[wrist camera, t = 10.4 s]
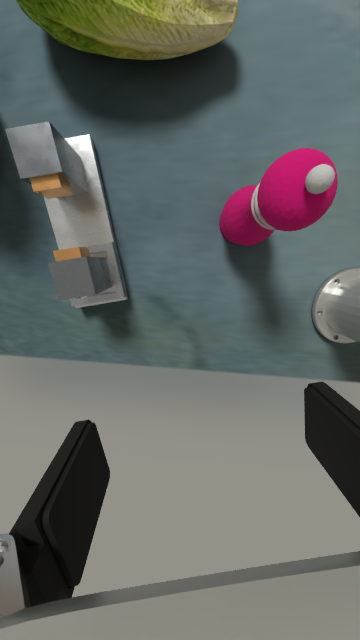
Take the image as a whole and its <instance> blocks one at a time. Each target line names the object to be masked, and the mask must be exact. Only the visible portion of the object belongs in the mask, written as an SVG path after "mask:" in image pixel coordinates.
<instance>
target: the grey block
mask: <svg viewBox="0 0 360 640" xmlns="http://www.w3.org/2000/svg"><path fill="white" fill-rule="evenodd" d="M53 253H54V256H55V260H56V261H55V262H49V263H48V265H49V268H50V272H51V275H52V278H53V282H54V285H55V288H56V292H57V295H58V299H59V300H65V299H72V298H78V297H84V296H90V295H96V294H98V293H100V292H102V291H105V290H107V289H109V288H111V287H112V282H111V278H110V274H109V269H108V265H107V261H106V257H90V254H89V250H88V248H84V247H75V248H68V249H62V250H56V251H53Z"/></svg>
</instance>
